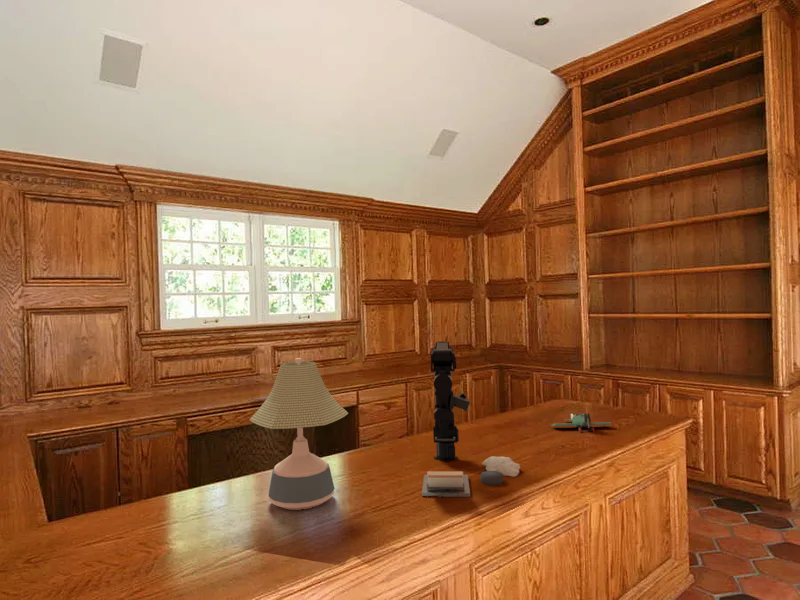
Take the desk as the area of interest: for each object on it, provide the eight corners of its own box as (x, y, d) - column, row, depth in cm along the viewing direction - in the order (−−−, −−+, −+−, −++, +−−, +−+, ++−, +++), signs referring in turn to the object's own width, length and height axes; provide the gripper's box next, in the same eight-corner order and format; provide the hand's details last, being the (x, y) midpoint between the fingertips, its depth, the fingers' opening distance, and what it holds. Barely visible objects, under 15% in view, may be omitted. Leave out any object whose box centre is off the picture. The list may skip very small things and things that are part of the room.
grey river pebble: (476, 482, 157) (475, 474, 157) (490, 476, 162) (490, 469, 162) (493, 488, 152) (493, 480, 152) (508, 482, 156) (507, 474, 156)
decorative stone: (475, 468, 171) (506, 485, 159) (474, 457, 171) (505, 474, 158) (499, 458, 177) (530, 473, 164) (498, 448, 176) (530, 462, 164)
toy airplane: (619, 432, 208) (616, 405, 211) (559, 433, 209) (557, 407, 211) (599, 431, 230) (597, 408, 233) (545, 433, 230) (543, 409, 233)
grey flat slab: (424, 477, 162) (424, 474, 162) (467, 477, 161) (467, 474, 161) (421, 496, 146) (421, 492, 146) (470, 496, 145) (470, 493, 145)
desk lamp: (233, 515, 136) (229, 363, 137) (290, 480, 163) (287, 353, 164) (316, 527, 128) (312, 364, 128) (362, 488, 154) (358, 353, 155)
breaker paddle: (427, 484, 150) (425, 470, 141) (464, 484, 149) (464, 470, 140) (427, 490, 149) (425, 476, 140) (464, 490, 148) (464, 476, 139)
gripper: (469, 392, 154) (471, 443, 154) (466, 383, 173) (468, 428, 172) (433, 393, 155) (434, 443, 155) (434, 383, 174) (436, 428, 173)
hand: (444, 435), depth 164 cm, fingers closed
